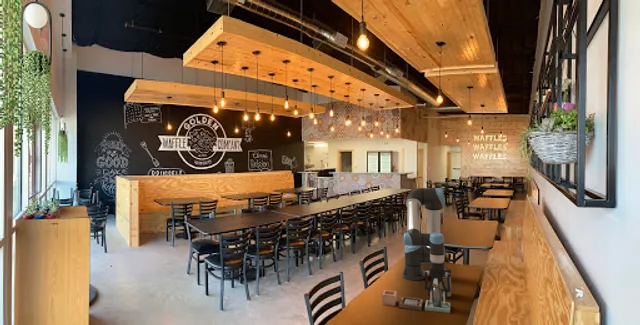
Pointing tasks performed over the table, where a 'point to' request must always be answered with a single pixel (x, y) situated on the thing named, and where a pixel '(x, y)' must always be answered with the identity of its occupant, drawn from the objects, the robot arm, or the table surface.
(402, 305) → the base
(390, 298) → the pink open box
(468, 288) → the table surface
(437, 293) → the cell
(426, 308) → the tray
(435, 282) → the coffee box
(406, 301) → the pale grey square tile
